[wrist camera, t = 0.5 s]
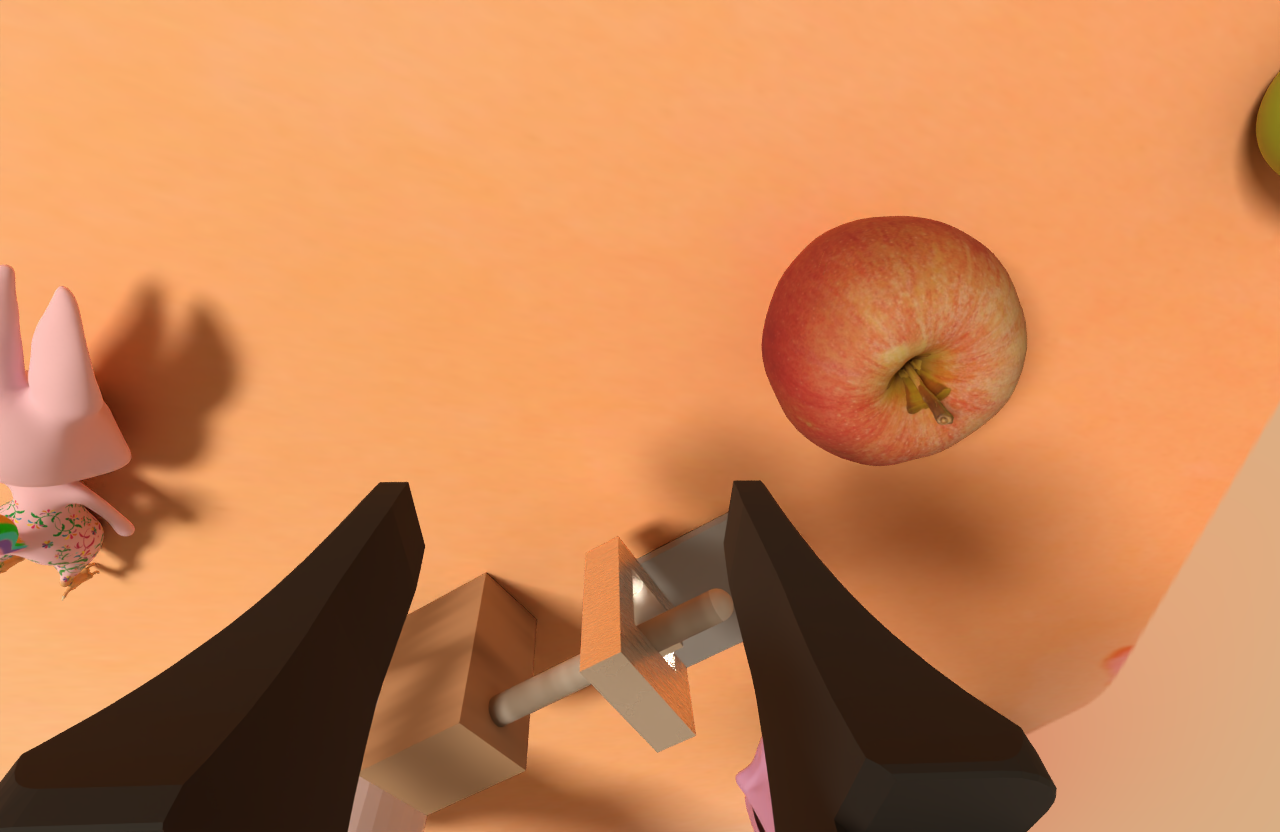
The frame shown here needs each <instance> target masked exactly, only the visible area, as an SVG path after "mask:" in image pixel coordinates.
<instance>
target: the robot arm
mask: <svg viewBox="0 0 1280 832" xmlns="http://www.w3.org/2000/svg"><path fill="white" fill-rule="evenodd" d="M723 544H724V552H725V560H726V568H727V575H728V583H729V588H730V592H731V596H732V600H733V604H734V608H735V612H736V616H737V620H738V624H739V628H740V632H741V636H742V640H743V643H744V647H745V651H746V655H747V659H748V663H749V667H750V671H751V675H752V679H753V684H754V689H755V694H756V699H757V706H758V712H759V719H760V725H761V732H762V738H763V745H764V752H765V759H766V766H767V774H768V781H769V788H770V796H771V804H772V812H773V820H774V828H775V832H1027V831H1028V830H1029V829H1030V828H1031V827H1032V826H1033V825H1034V824H1035V823H1036V822H1037V821H1038V820H1039V819H1040V818H1041V817H1042V816H1043V815H1044V814H1045V813H1046V812H1047V811H1048V810H1049V808H1050V807H1051V805H1052V804H1053V803H1054V801H1055V798H1056V786H1055V785H1054V783H1053V781H1052V779H1051V777H1050V776H1049V774H1048V772H1047V770H1046V768H1045V766H1044V764H1043V763H1042V761H1041V759H1040V757H1039V755H1038V754H1037V752H1036V750H1035V749H1034V747H1033V746H1032V744H1031V743H1030V742H1029V740H1028V738H1027V737H1026V735H1025V734H1024V732H1023V730H1022V729H1021V727H1019V726H1018V725H1016V724H1015V723H1013V722H1011V721H1010V720H1008V719H1007V718H1005V717H1004V716H1002V715H1001V714H999V713H998V712H996V711H995V710H993V709H992V708H990V707H989V706H987V705H986V704H984V703H983V702H981V701H980V700H978V699H976V698H975V697H973V696H972V695H970V694H969V693H968V692H966V691H965V690H963V689H962V688H961V687H959V686H958V685H956V684H955V683H954V682H952V681H951V680H950V679H948V678H947V677H946V676H944V675H943V674H941V673H940V672H939V671H937V670H936V669H935V668H933V667H932V666H931V665H930V664H928V663H927V662H926V661H925V660H923V659H922V658H921V657H920V656H919V655H917V654H916V653H915V652H914V651H912V650H911V649H910V648H909V647H908V646H906V645H905V644H904V643H903V642H902V641H900V640H899V639H898V638H897V637H896V636H894V635H893V634H892V633H891V632H890V631H889V630H888V629H887V628H885V627H884V626H883V625H882V624H881V623H880V622H879V621H878V620H877V619H876V618H875V617H873V616H872V615H871V614H870V613H869V612H868V611H867V610H866V609H865V608H864V607H863V606H862V605H861V604H860V603H859V602H858V601H857V600H856V599H855V598H854V597H853V596H852V595H851V594H850V593H849V591H848V590H847V589H846V588H845V587H844V586H843V585H842V584H841V583H840V582H839V581H838V580H837V578H836V577H835V576H834V575H833V574H832V573H831V572H830V571H829V569H828V568H827V567H826V566H825V565H824V564H823V562H822V561H821V560H820V559H819V558H818V557H817V555H816V554H815V553H814V552H813V550H812V549H811V548H810V547H809V545H808V544H807V543H806V542H805V540H804V539H803V538H802V536H801V535H800V534H799V533H798V531H797V530H796V529H795V527H794V526H793V525H792V523H791V522H790V521H789V519H788V518H787V516H786V515H785V514H784V512H783V511H782V510H781V508H780V507H779V505H778V504H777V502H776V501H775V500H774V498H773V497H772V495H771V494H770V492H769V491H768V489H767V488H766V486H765V485H764V484H763V483H762V482H761V481H733V488H732V494H731V500H730V506H729V512H728V518H727V524H726V531H725V537H724V543H723ZM424 549H425V544H424V540H423V537H422V533H421V529H420V525H419V521H418V518H417V514H416V510H415V506H414V502H413V499H412V495H411V491H410V487H409V483H408V482H380V483H379V484H378V485H377V486H376V487H375V488H374V489H373V490H372V491H371V492H370V493H369V494H368V495H367V496H366V497H365V498H364V499H363V500H362V501H361V502H360V503H359V504H358V506H357V507H356V508H355V509H354V510H353V511H352V512H351V513H350V514H349V515H348V516H347V517H346V518H345V519H344V520H343V521H342V522H341V523H340V525H339V526H338V527H337V528H336V529H335V530H334V531H333V532H332V533H331V534H330V535H329V536H328V537H327V538H326V539H325V540H324V541H323V542H322V543H321V544H320V545H319V546H318V547H317V548H316V549H315V550H314V551H313V552H312V553H311V554H310V555H309V556H308V557H307V558H306V559H305V560H304V561H303V562H302V563H301V564H299V565H298V566H297V567H296V568H295V569H294V570H293V571H292V572H291V573H290V574H289V575H288V576H286V577H285V578H284V579H283V580H282V581H281V582H280V583H279V584H278V585H277V586H276V587H275V588H273V589H272V590H271V591H270V592H269V593H268V594H267V595H265V596H264V597H263V598H262V599H261V600H260V601H258V602H257V603H256V604H255V605H254V606H252V607H251V608H250V609H249V610H247V611H246V612H245V613H244V614H242V615H241V616H240V617H239V618H237V619H236V620H235V621H234V622H232V623H231V624H230V625H229V626H227V627H226V628H225V629H223V630H222V631H221V632H219V633H218V634H217V635H215V636H214V637H212V638H211V639H209V640H208V641H207V642H205V643H204V644H202V645H201V646H200V647H198V648H197V649H195V650H194V651H193V652H191V653H190V654H188V655H187V656H186V657H184V658H183V659H181V660H180V661H178V662H177V663H176V664H174V665H173V666H171V667H170V668H168V669H167V670H165V671H164V672H162V673H161V674H159V675H158V676H156V677H154V678H153V679H151V680H150V681H148V682H147V683H145V684H144V685H142V686H141V687H139V688H137V689H136V690H134V691H132V692H131V693H129V694H128V695H126V696H124V697H123V698H121V699H119V700H118V701H116V702H115V703H113V704H111V705H110V706H108V707H106V708H104V709H103V710H101V711H99V712H98V713H96V714H94V715H93V716H91V717H89V718H87V719H85V720H84V721H82V722H80V723H78V724H76V725H75V726H73V727H71V728H69V729H67V730H66V731H64V732H62V733H60V734H58V735H57V736H55V737H53V738H51V739H49V740H48V741H46V742H44V743H42V744H40V745H39V746H37V747H35V748H33V749H31V750H29V751H27V752H25V753H23V754H22V755H21V756H20V758H19V759H18V760H17V761H16V762H15V764H14V765H13V766H12V768H11V769H10V770H9V772H8V773H7V774H6V775H5V777H4V778H3V779H2V781H1V782H0V832H424V828H425V823H426V818H427V815H425V814H423V813H422V812H420V811H418V810H416V809H415V808H413V807H411V806H410V805H408V804H406V803H404V802H403V801H401V800H399V799H398V798H396V797H394V796H392V795H391V794H389V793H387V792H386V791H384V790H382V789H380V788H379V787H377V786H375V785H374V784H372V783H370V782H368V781H367V780H365V779H363V778H362V777H360V776H359V775H360V771H361V767H362V762H363V758H364V753H365V749H366V745H367V741H368V737H369V732H370V728H371V724H372V720H373V716H374V712H375V708H376V705H377V702H378V698H379V695H380V691H381V688H382V685H383V682H384V679H385V676H386V673H387V670H388V668H389V665H390V662H391V659H392V656H393V654H394V651H395V648H396V645H397V642H398V639H399V637H400V634H401V631H402V628H403V625H404V623H405V620H406V617H407V614H408V611H409V608H410V605H411V602H412V599H413V596H414V594H415V591H416V587H417V582H418V578H419V574H420V569H421V564H422V559H423V554H424Z"/></svg>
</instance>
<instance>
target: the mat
mask: <svg viewBox="0 0 1280 832" xmlns="http://www.w3.org/2000/svg"><path fill="white" fill-rule="evenodd" d="M727 518H728V513H726V514H724V515H722V516H720V517H718V518H716V519H714V520H712V521H710V522H708V523H706V524H705V525H703V526H701V527H699V528H697V529H695V530H693V531H691V532H689V533H687V534H685V535H683V536H681V537H679V538H677V539H675V540H674V541H672V542H670V543H668V544H666V545H664V546H662V547H660V548H658V549H656V550H654V551H652V552H650V553H648V554H646V555H644V556H643V557H641V558H639V559H637V560H638V562H639V563H640V564H641V565H642V567H643V568H644V569H645V570H646V572H647V573H648V574H649V575H650V577H651V578H652V579H653V580H654V582H655V583H656V584H657V585H658V587H659V588H660V589H661V590H662V592H663V593H664V594H665V595H666V597H667V598H668V599H669V600H670V602H671V603H672V604H673V605H674V607H676V606H678V605H680V604H682V603H684V602H686V601H688V600H690V599H692V598H694V597H697V596H699V595H701V594H703V593H705V592H707V591H709V590H711V589H722V590H724V591H726V592H727V593H728V594H729V595H730V596H731V592H730V588H729V583H728V575H727V568H726V560H725V552H724V544H723V543H724V537H725V531H726V524H727ZM731 598H732V596H731ZM741 642H743V640H742V636H741V632H740V628H739V624H738V620H737V616H736V612H735V608H734V604H733V612H732V614H731V616H730V617H729V618H728V619H727V620H725V621H724V622H722V623H719V624H717V625H715V626H713V627H711V628H709V629H707V630H705V631H703V632H701V633H698V634H696V635H694V636H692V637H690V638H688V639H686V640H684V641H683V647H682V648H680V649H678V650H676V651H674V653H675V654H676V655H677V656H678V657H679V659H680V660H681V661H682V662H683V663H684V665H685V666H686V668H687V667H689V666H691V665H694V664H696V663H698V662H700V661H702V660H704V659H706V658H709V657H711V656H713V655H715V654H717V653H719V652H721V651H724V650H726V649H728V648H730V647H732V646H734V645H736V644H739V643H741ZM665 656H666V655H665ZM663 657H664V656H663Z"/></svg>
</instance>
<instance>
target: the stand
mask: <svg viewBox="0 0 1280 832" xmlns="http://www.w3.org/2000/svg"><path fill="white" fill-rule="evenodd" d="M732 612H733V600H732V598H731V596H730V595H729V594H728V593H727V592H726V591H724V590H722V589H711V590H709V591H707V592H705V593H703V594H701V595H699V596H697V597H694V598H692V599H690V600H688V601H686V602H684V603H682V604H680V605H678V606H676V607H674V608H672V609H670V610H668V611H666V612H664V613H662V614H660V615H658V616H656V617H654V618H652V619H650V620H648V621H646V622H644V623H642V624H639V625H637V627H638V629H639V630H640V631H641V632H642V633H643V634H644V636H645V637H646V638H647V639H648V640H649V641H650V643H651V644H652V645H653V646H654V647H655V648H656V650H657V651H658V652H661V651H663V650H665V649H667V648H669V647H671V646H673V645H675V644H677V643H680V642H682V641H684V640H686V639H688V638H690V637H692V636H694V635H696V634H698V633H701V632H703V631H705V630H707V629H709V628H711V627H713V626H715V625H717V624H719V623H722V622H724V621H725V620H727V619H728V618H729V617H730V616H731V614H732ZM536 624H537V619H535V618H534V617H533V616H532V615H531V614H530V613H529V612H528V611H527V610H526V609H525V608H524V607H522V606H521V605H520V604H519V603H518V602H517V601H516V600H515V599H514V598H513V597H512V596H511V595H510V594H508V593H507V592H506V591H505V590H504V589H503V588H502V587H501V586H500V585H499V584H498V583H497V582H495V581H494V580H493V579H492V578H491V577H490V576H489V575H488V574H487V573H485V574H483V575H481V576H479V577H477V578H475V579H474V580H472V581H470V582H468V583H466V584H464V585H462V586H461V587H459V588H457V589H455V590H453V591H451V592H450V593H448V594H446V595H444V596H442V597H440V598H439V599H437V600H435V601H433V602H431V603H429V604H427V605H426V606H424V607H422V608H420V609H418V610H416V611H415V612H413V613H411V614H409V615H407V617H406V620H405V623H404V625H403V628H402V631H401V634H400V637H399V639H398V642H397V645H396V648H395V651H394V654H393V656H392V659H391V662H390V665H389V668H388V670H387V673H386V676H385V679H384V682H383V686H382V689H381V692H380V695H379V698H378V702H377V705H376V708H375V712H374V716H373V720H372V724H371V728H370V732H369V737H368V741H367V745H366V749H365V753H364V758H363V762H362V767H361V771H360V775H359V776H360V777H362V778H363V779H365V780H367V781H368V782H370V783H372V784H374V785H375V786H377V787H379V788H380V789H382V790H384V791H386V792H387V793H389V794H391V795H392V796H394V797H396V798H398V799H399V800H401V801H403V802H404V803H406V804H408V805H410V806H411V807H413V808H415V809H416V810H418V811H420V812H422V813H423V814H425V815H429V814H432V813H434V812H436V811H438V810H440V809H443V808H445V807H447V806H449V805H451V804H454V803H456V802H458V801H460V800H462V799H465V798H467V797H469V796H471V795H473V794H476V793H478V792H480V791H482V790H484V789H487V788H489V787H491V786H493V785H495V784H498V783H500V782H502V781H504V780H506V779H509V778H511V777H513V776H515V775H517V774H520V773H522V772H524V771H526V762H527V748H528V735H529V721H530V714H531V713H533V712H535V711H537V710H539V709H541V708H543V707H545V706H547V705H549V704H552V703H554V702H556V701H558V700H560V699H562V698H564V697H566V696H568V695H570V694H573V693H575V692H577V691H579V690H581V689H583V688H585V687H587V686H589V685H591V683H590V682H589V681H588V680H587V679H586V678H585V677H584V676H583V675H582V674H581V673H580V672H579V671H580V654H578V655H576V656H574V657H572V658H570V659H568V660H566V661H564V662H562V663H560V664H558V665H556V666H554V667H552V668H550V669H548V670H546V671H544V672H542V673H540V674H538V675H536V676H534V677H533V665H534V651H535V638H536Z"/></svg>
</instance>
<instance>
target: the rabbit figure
mask: <svg viewBox="0 0 1280 832" xmlns="http://www.w3.org/2000/svg"><path fill="white" fill-rule="evenodd" d="M130 460H131V451H130V449H129V447H128V445H127V443H126V441H125V439H124V437H123V435H122V433H121V431H120V429H119V427H118V425H117V423H116V421H115V419H114V417H113V415H112V413H111V411H110V409H109V407H108V406H107V404H106V403H105V402H104V401H103V398H102V395H101V392H100V388H99V386H98V384H97V381H96V378H95V375H94V371H93V367H92V363H91V359H90V356H89V352H88V348H87V344H86V339H85V335H84V330H83V325H82V320H81V315H80V311H79V307H78V304H77V301H76V299H75V297H74V295H73V294H72V292H71V291H70V290H69V289H68V288H66V287H63V286H61V287H58V288H57V290H56V291H55V293H54V295H53V297H52V299H51V301H50V303H49V305H48V307H47V309H46V311H45V312H44V314H43V316H42V317H41V319H40V321H39V323H38V325H37V327H36V329H35V332H34V335H33V338H32V344H31V359H30V366H29V371H25V366H24V356H23V347H22V341H21V334H20V325H19V310H18V303H17V297H16V290H15V272H14V269H13V268H12V267H11V266H9V265H0V483H3V484H5V485H7V486H8V487H9V488H10V489H11V491H12V494H13V500H11V501H10V502H8V503H6V504H3V505H2V506H0V573H3V572H6V571H7V570H8V569H9V568H11V567H12V566H14V565H15V564H17V563H18V562H21V561H23V560H24V559H25V558H26V559H28V560H30V561H32V562H35V563H38V564H41V565H53V566H54V567H55V568H56V569H57V571H58V572H59V574H60V576H61V579H60V585H61V586H62V587H66V586H69V587H68V588H67V590H66V592H65V593H64V594H63V596H62V600H63V599H64V598H65V597H66V596H67V594H68V592H69V591H71V590H73V589H75V588H76V587H77V586H79V585H80V584H81V583H83V582H84V581H86V580H88V579H90V578H92V577H93V575H94V574H96V573H98V574H99V571H95V572H93V573H90V572H89V571H90V569H89V568H90V567H91V566H93V565H95V563H92V564H89V563H90V562H91V561H92V560H93V558H94V557H95V556H96V555H97V554H98V552H99V551H100V549H101V547H102V544H103V540H104V531H103V527H102V525H101V523H100V522H99V521H98V520H97V519H96V518H95V517H94V516H93V515H92V514H91V513H90V512H89V511H88V510H87V509H86V508H85V507H84V506H86V507H87V508H89V509H91V510H92V511H94V512H96V513H97V514H99V515H100V516H101V517H103V518H104V519H105V520H106V521H108V523H109V524H110V525H111V526H112V527H113V529H114V530H115V531H116V532H117V533H118V534H119V535H121V536H130V535H132V534H133V533H134V531H135V527H134V525H133V524H132V523H131V522H130V521H129V520H128V519H127V518H126V517H124V516H123V515H122V514H121V513H120V512H119V511H117V510H116V509H115V508H114V507H113V506H112V505H110V504H109V503H108V502H107V501H105V500H104V499H103V498H102V497H100V496H99V495H98V494H96V493H95V492H94V491H92V490H91V489H89V488H88V487H86V486H85V485H84V484H82V483H81V482H80V481H79V480H83V479H87V478H91V477H95V476H99V475H103V474H106V473H109V472H112V471H115V470H118V469H120V468H122V467H124V466H125V465H127V464H128V463H129V462H130ZM83 505H84V506H83ZM88 564H89V565H88ZM87 565H88V567H87V568H85V567H86V566H87Z"/></svg>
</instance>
